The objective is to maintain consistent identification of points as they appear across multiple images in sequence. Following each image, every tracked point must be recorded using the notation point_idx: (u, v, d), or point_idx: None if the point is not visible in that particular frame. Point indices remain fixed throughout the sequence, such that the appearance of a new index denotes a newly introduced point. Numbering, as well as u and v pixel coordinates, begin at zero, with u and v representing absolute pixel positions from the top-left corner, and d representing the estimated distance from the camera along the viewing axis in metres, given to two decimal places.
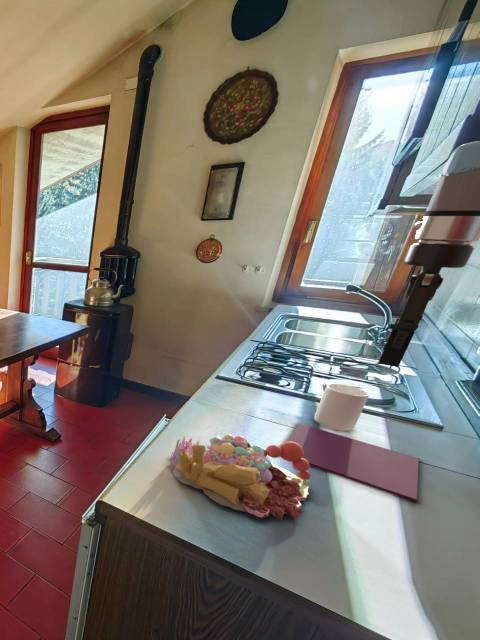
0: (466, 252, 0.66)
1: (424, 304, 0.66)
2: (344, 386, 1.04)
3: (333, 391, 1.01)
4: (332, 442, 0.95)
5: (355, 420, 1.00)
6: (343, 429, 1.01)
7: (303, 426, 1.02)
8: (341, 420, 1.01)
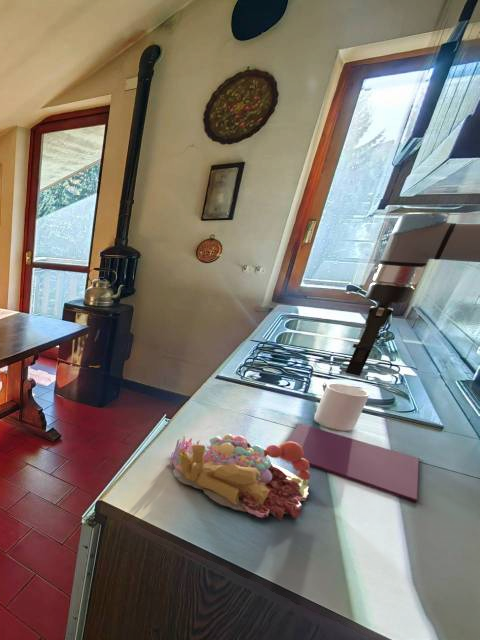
0: (408, 292, 0.89)
1: (377, 330, 0.90)
2: (344, 386, 1.04)
3: (333, 391, 1.01)
4: (332, 442, 0.95)
5: (355, 420, 1.00)
6: (343, 429, 1.01)
7: (303, 426, 1.02)
8: (341, 420, 1.01)
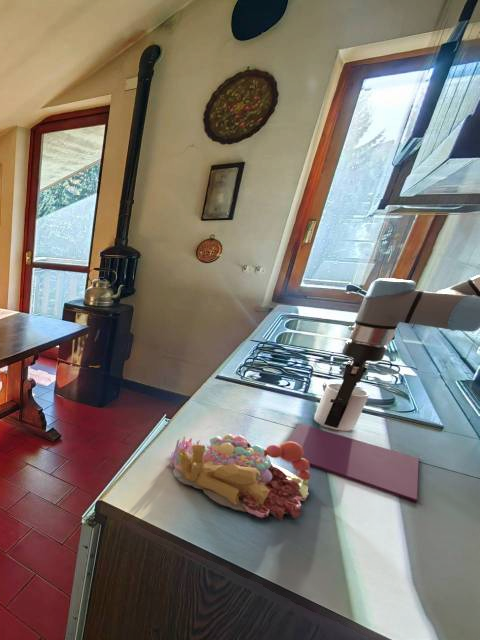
0: (381, 351, 0.95)
1: (352, 388, 0.96)
2: None
3: (333, 391, 1.01)
4: (332, 442, 0.95)
5: (355, 420, 1.00)
6: (343, 429, 1.01)
7: (303, 426, 1.02)
8: (341, 420, 1.01)
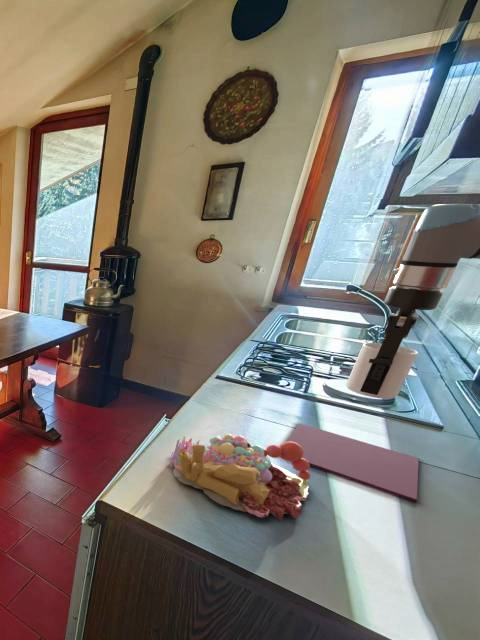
0: (436, 297, 0.76)
1: (398, 343, 0.77)
2: None
3: (372, 350, 0.82)
4: (332, 442, 0.95)
5: (399, 385, 0.81)
6: (384, 396, 0.82)
7: (303, 426, 1.02)
8: None
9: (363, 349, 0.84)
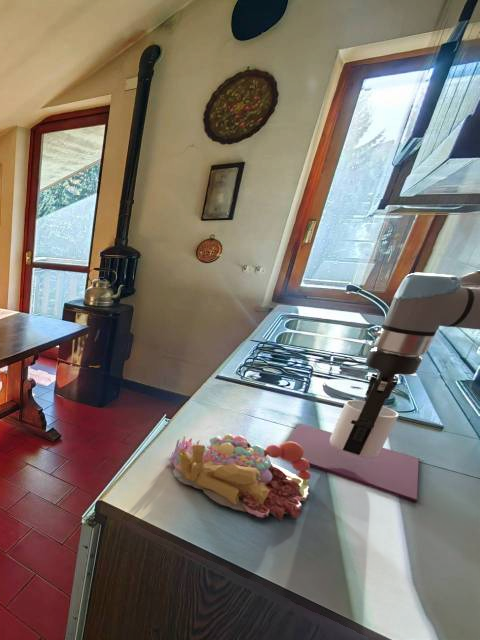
0: (415, 363, 0.77)
1: (379, 407, 0.78)
2: None
3: (354, 410, 0.83)
4: None
5: (381, 445, 0.82)
6: (366, 456, 0.84)
7: (303, 426, 1.02)
8: None
9: (345, 408, 0.85)
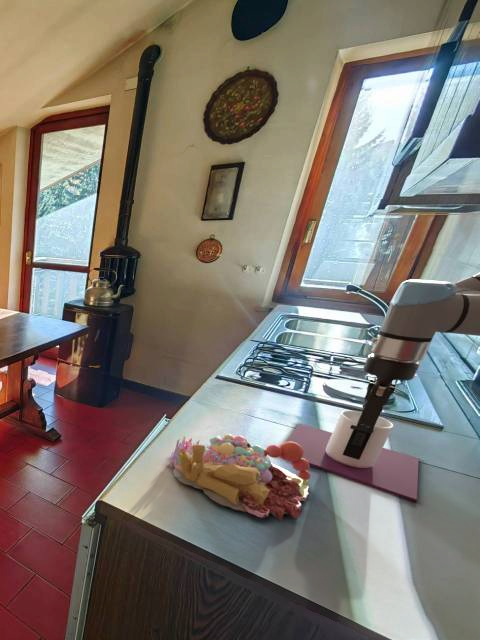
0: (412, 369, 0.77)
1: (378, 412, 0.78)
2: None
3: (349, 421, 0.84)
4: None
5: (376, 456, 0.83)
6: (361, 466, 0.84)
7: (303, 426, 1.02)
8: None
9: (341, 419, 0.86)
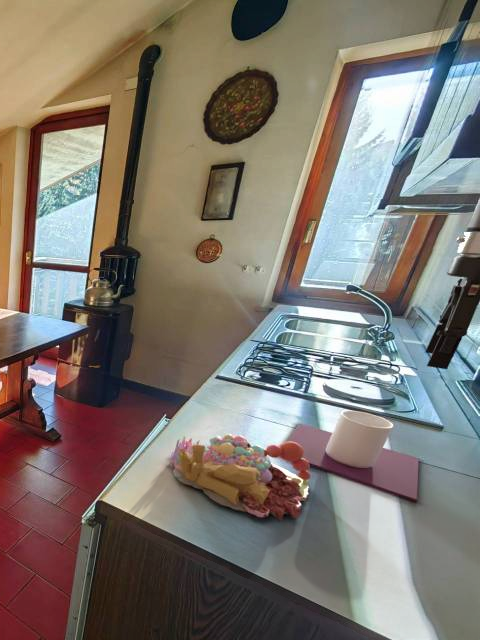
0: None
1: (471, 312, 0.73)
2: (362, 414, 0.88)
3: (349, 421, 0.84)
4: None
5: (376, 456, 0.83)
6: (361, 466, 0.84)
7: (303, 426, 1.02)
8: (358, 455, 0.84)
9: (341, 419, 0.86)
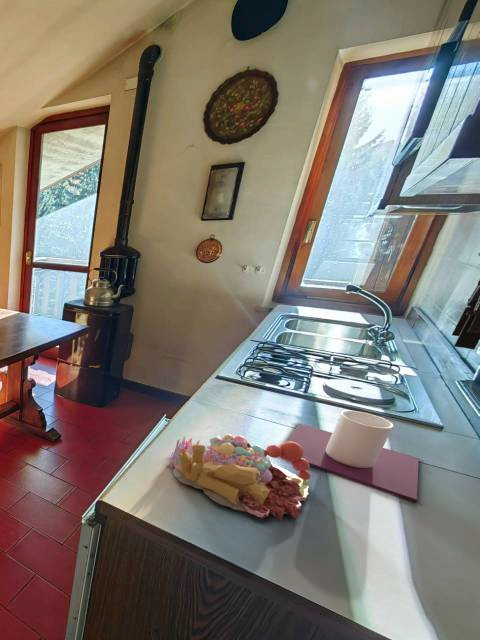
0: None
1: None
2: (362, 414, 0.88)
3: (349, 421, 0.84)
4: None
5: (376, 456, 0.83)
6: (361, 466, 0.84)
7: (303, 426, 1.02)
8: (358, 455, 0.84)
9: (341, 419, 0.86)
